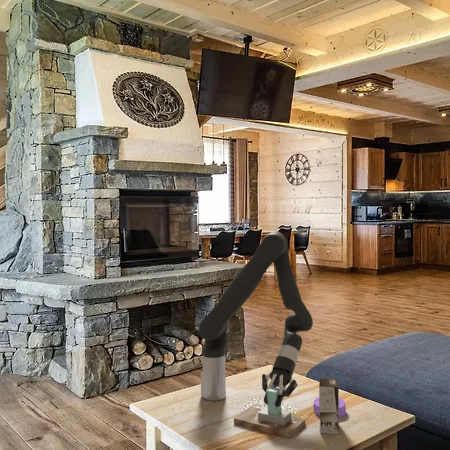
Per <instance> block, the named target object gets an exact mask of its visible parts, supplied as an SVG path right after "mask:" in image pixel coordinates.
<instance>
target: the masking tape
mask: <svg viewBox="0 0 450 450" xmlns="http://www.w3.org/2000/svg"><path fill="white" fill-rule="evenodd" d="M346 406H347V403H346V401H345V400H343V399H342V398H340V397H339V419H340V418H342V416H343V417H344V416H345V415H346V413H347V412H346V411H347V410H346V409H347V407H346ZM313 414H315V415H316V416H319V417H320V405H319V397H316V398H315V399H314V400H313Z"/></svg>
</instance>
